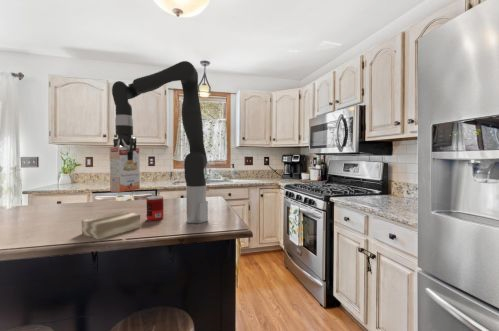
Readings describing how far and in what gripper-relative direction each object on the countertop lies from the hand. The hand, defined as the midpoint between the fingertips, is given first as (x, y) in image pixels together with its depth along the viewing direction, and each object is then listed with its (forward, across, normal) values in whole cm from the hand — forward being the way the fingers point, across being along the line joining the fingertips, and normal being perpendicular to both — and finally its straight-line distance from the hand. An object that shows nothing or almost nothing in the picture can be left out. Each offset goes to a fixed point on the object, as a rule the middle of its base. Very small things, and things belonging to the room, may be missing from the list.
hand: (125, 159), depth 120 cm
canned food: (+30, -10, -9) cm, 33 cm away
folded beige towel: (+30, -9, +13) cm, 34 cm away
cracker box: (+15, 0, 0) cm, 15 cm away
